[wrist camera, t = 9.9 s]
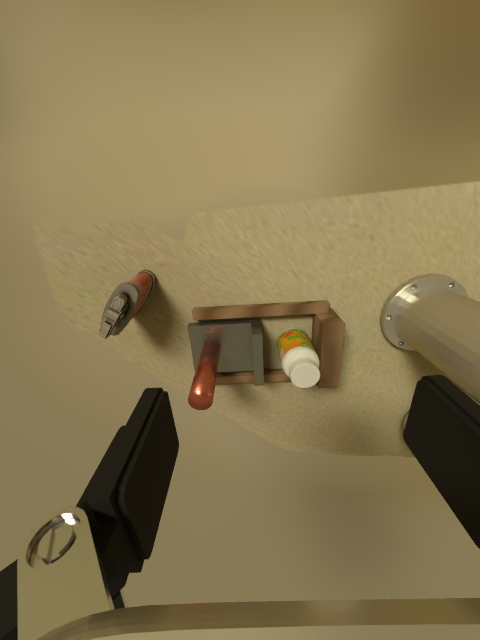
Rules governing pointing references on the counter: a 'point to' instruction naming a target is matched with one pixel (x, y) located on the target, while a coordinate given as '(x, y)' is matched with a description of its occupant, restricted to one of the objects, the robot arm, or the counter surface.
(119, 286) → the lighter
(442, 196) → the counter surface
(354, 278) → the counter surface
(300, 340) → the supplement bottle
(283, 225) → the counter surface
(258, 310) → the bench clamp
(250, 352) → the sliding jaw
